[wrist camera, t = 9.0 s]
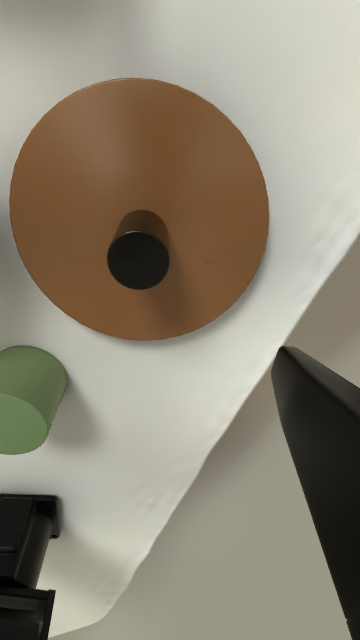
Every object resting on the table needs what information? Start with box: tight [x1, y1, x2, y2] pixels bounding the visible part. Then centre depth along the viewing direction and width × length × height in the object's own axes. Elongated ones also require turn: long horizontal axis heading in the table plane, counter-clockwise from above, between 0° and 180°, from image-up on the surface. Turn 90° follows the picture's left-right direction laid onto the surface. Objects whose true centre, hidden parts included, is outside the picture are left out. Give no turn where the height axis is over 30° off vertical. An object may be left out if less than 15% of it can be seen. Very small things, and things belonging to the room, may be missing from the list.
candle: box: [0, 346, 67, 455], centre depth 20 cm, size 5×5×4 cm
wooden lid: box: [9, 78, 269, 340], centre depth 16 cm, size 13×13×5 cm
